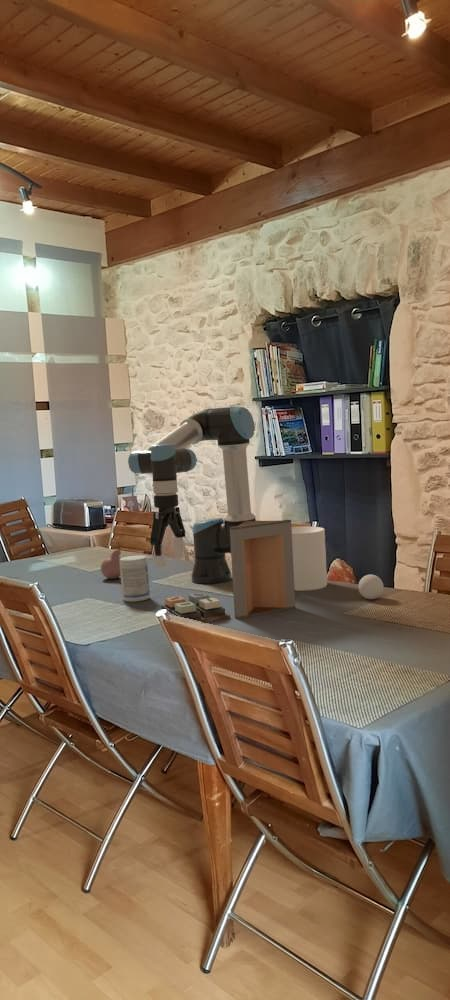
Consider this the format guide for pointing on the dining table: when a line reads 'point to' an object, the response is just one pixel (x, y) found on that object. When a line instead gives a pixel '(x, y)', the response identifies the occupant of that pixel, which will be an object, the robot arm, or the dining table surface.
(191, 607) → the key sage
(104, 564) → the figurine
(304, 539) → the canister
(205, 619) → the keypad board
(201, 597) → the key slate
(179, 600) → the key terracotta
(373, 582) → the ball
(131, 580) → the supplement tub
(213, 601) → the key cream
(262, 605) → the cabinet
